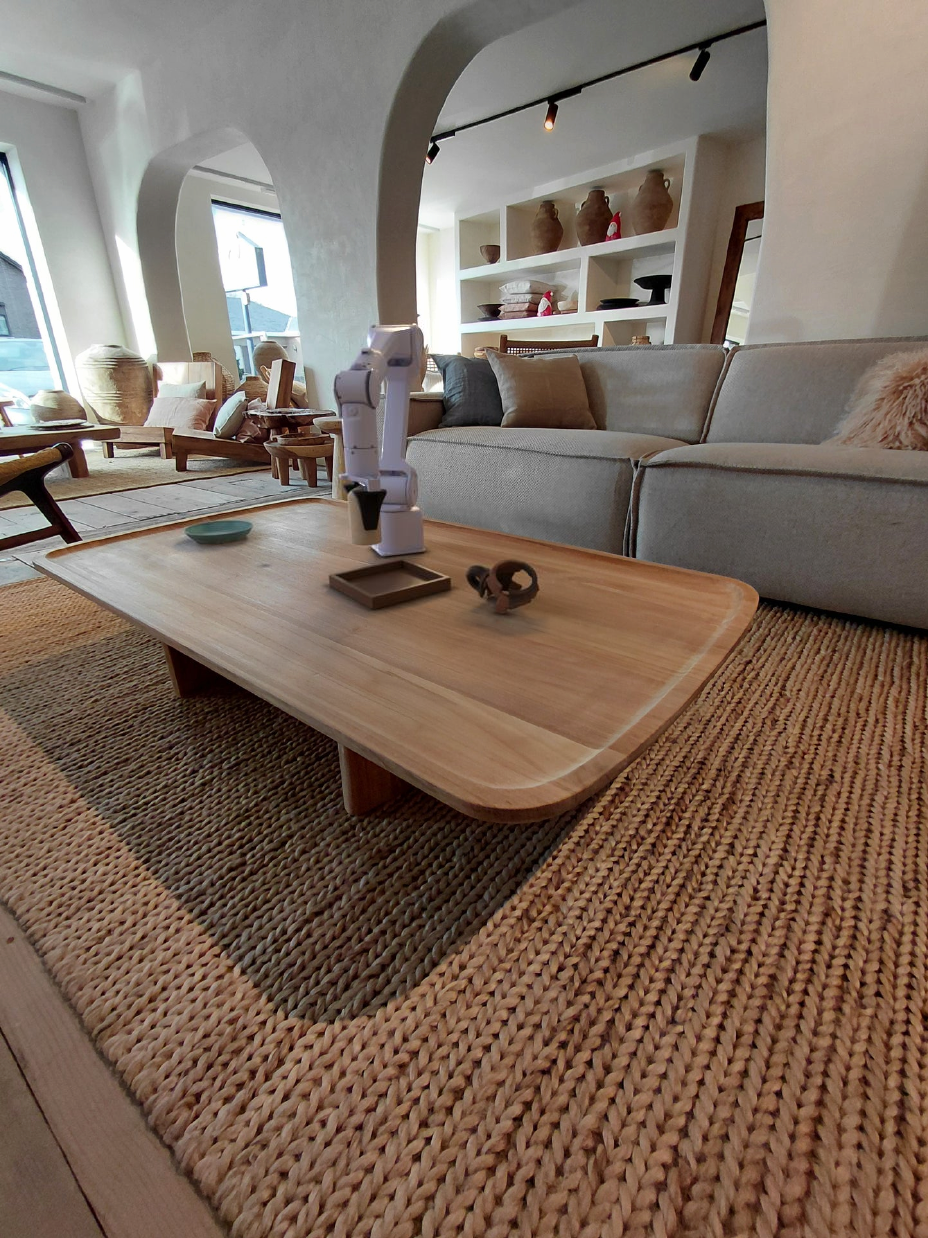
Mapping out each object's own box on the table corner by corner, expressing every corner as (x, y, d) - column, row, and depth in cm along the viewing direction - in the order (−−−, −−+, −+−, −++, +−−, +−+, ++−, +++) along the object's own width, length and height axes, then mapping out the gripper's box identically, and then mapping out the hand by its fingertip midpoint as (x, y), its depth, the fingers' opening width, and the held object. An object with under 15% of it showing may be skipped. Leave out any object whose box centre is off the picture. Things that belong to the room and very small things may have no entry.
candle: (352, 538, 106) (348, 483, 102) (382, 537, 107) (379, 483, 103) (349, 546, 101) (345, 488, 97) (381, 545, 101) (377, 488, 98)
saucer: (268, 533, 135) (266, 521, 134) (226, 549, 122) (224, 537, 121) (216, 528, 140) (214, 517, 139) (170, 543, 127) (167, 532, 126)
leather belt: (536, 596, 97) (548, 563, 91) (523, 638, 91) (535, 606, 85) (468, 574, 98) (476, 540, 92) (451, 615, 92) (458, 581, 86)
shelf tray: (403, 568, 110) (403, 558, 109) (451, 588, 99) (450, 577, 99) (329, 586, 101) (328, 574, 100) (372, 609, 90) (371, 597, 90)
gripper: (328, 444, 102) (335, 519, 107) (347, 452, 90) (353, 537, 95) (367, 442, 105) (372, 516, 110) (391, 450, 93) (394, 533, 98)
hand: (366, 526), depth 103 cm, fingers closed on candle, 5 cm apart
